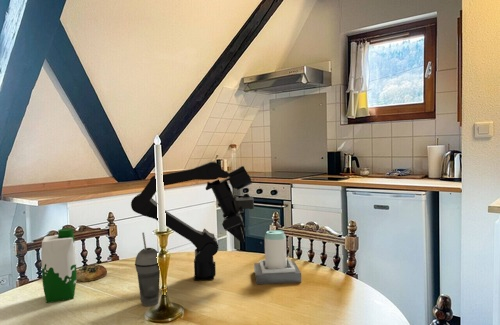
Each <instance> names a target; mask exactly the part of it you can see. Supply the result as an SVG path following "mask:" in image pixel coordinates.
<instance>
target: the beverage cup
mask: <svg viewBox="0 0 500 325" xmlns="http://www.w3.org/2000/svg"><path fill="white" fill-rule="evenodd" d="M145 237H146V236H145V232H142V240H143V249H141V250H140V251H139V252H138V253H137V254H136V257H135V260H134V261H135V262H134V266H135V270H136V273H137V280H138V281H137V282H138V288H139V295H140V296H139V297H140V300H141V305H142V306H143V307H152V306H156V305H157V304H158V303H159V295H160V294H159V293H160V275H161V274H160V273H161V272H160V271H161V269H160V270H159V266H158V263H157V258H156V257H157V253H159V251H157V250H156V249H155V248H154V247H147V243H146V238H145Z"/></svg>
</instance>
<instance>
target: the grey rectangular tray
mask: <svg viewBox="0 0 500 325" xmlns="http://www.w3.org/2000/svg"><path fill="white" fill-rule="evenodd" d="M253 264H254V266H253V267H254V268H253V269H254V276H255V281H256V284H257V285H275V284H295V283H296V284H297V283H302V272H301V270H300V268H299V267H298V265H297V263H296V262H295V260H294V261H292V260H291V258H287V266H286V267H285V268H278V269H268V268H266V266H265V259H260V260H259V262H255V263H253Z"/></svg>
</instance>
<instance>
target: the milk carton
mask: <svg viewBox="0 0 500 325" xmlns="http://www.w3.org/2000/svg"><path fill="white" fill-rule="evenodd" d="M57 233H58V234H54V235H47V236H44V238H43V239H42V241H41V249H40V250H41V252H40V256H41V258H40V260H41V276H42V277H41V278H42V280H41V281H42V287H43V288H42V289H43V293H44V298H45V303H46V304H51V303H55V302H61V301H66V300H67V301H68V300H72V299H73V300H74V297H75V293H76V291H75V290H76V285H77V281H76V277H77V270H78V269H77V253H76V252H77V251H76V244H75V235H74V228H70V227H68V228H60V229H58V230H57Z"/></svg>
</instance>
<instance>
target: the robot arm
mask: <svg viewBox="0 0 500 325" xmlns="http://www.w3.org/2000/svg"><path fill="white" fill-rule="evenodd" d="M155 175H156V174H155ZM155 175H153V176H151V177H150V179H149V181H148V183H147V184H146V185H145V187H144V188H143V190H142V191H141V193H139V194H136V196H134V197H133V198H132V200H131V202H130V207H131V210H132V211H133V212H135V213H137V214H139V215H140V216H144V217H147V218H150V219H154V220H155V221H157V222H159V221H158V218H157V204H158V202H157V201H156V200H155V199H154V198H153V197H154V196H155V194H156V193H157V191H156V179H155ZM219 178H220V179H222V180H220V179H219ZM195 180H196V181H199V180H200V181H206V186H205V190H206V191H208V190H210V189H211V190H212V193H213V194H214V197H215V199H216V201H217V206H218V208H220V209H221V212H222V217H223V220H222V224H221V226H222V227H223V228H222V229H224V231H227V232H228V233H229V234H230V235H232V236H233V237H234V238H236V240H238V241H239V242H240V243H241V244H243V243H245V242H246V240H245V237H244V235H245V234H246V229H245V224H244V220H243V216H244V214H245V210H246V209H247V210H248V209H249V210H254V209H255V204H254V203H255V202H254V197H253V196H251V195H250V193H244V194H243V195H242V196H240V197H237V196H236V194H234V193H233V191H232V190H236V191H239V190H241V189H244V188H246V187H248V186H250V185H252V184H253V181H252V178H251V177H250V174H249V173H248V172H247V170H246V169H245V166H244V165H242V166H239V167H238V168H236V169H234V170H232V171H229V172H228V171H227V170H224V169H222V167H221V165H220V163H218V162H216V161H209V162H206V163H204V164H201V165H198V166H195V167H194V168H189V169H185V170H184V169H183V170H179V171H173V172H167V173H163V182H164V186H169V185H176V184H179V183H184V182H189V181H195ZM212 180H213V181H212ZM210 181H211V182H210ZM164 186H163V187H164ZM230 186H231V187H230ZM231 188H232V189H231ZM165 213H166V226H165V227H167V228H168V229H170V230H172V231H173V232H175V233H176V234H178V235H180V236H181V237H183V238H184V239H186V240H187V241H189V242H191V243H192V245H194V246H195V249H194V260H193V264H194V265H193V266H194V268H193V269H194V278H193V281H209V280H211V281H213V280H214V279H215V277H216V271H217V270H216V269H217V268H216V261H214V256H215V255H217V253H218V252H219V244H218V240H217V238H216V237H215V233H211V232H209V231H208V230H207V229H206V228H203V229H202V231H201V230H197V229H195V228H194V227H193V226H191V225H189V224H187V222H184V221H182V219H180V218H178V217H177V216H175V215H173V214H172V213H170V212H169V211H167V210H165Z"/></svg>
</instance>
